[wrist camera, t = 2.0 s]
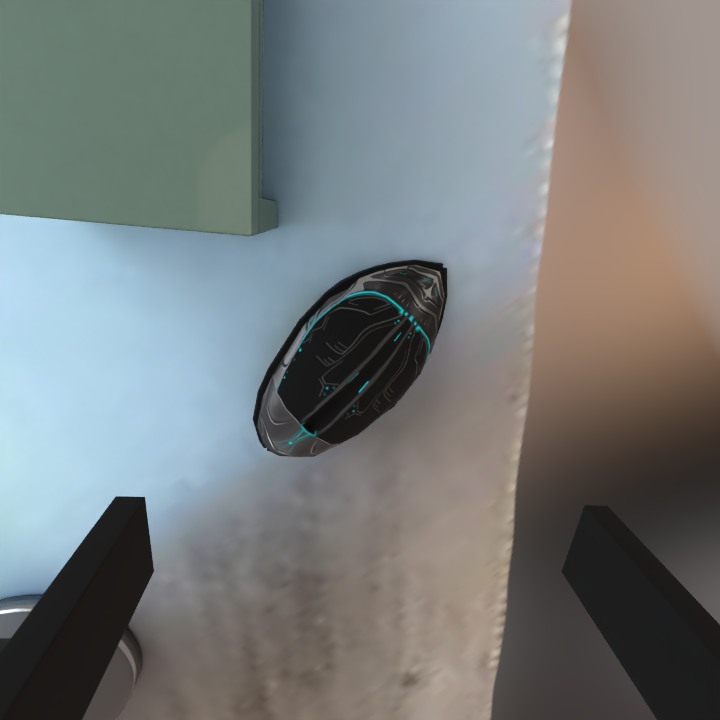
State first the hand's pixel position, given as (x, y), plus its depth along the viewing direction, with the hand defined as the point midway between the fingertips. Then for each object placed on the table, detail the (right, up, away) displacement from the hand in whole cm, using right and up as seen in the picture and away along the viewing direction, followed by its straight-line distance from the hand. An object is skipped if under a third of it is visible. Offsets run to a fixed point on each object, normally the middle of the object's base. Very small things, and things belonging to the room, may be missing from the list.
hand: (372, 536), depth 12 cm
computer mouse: (-1, +6, +16) cm, 17 cm away
